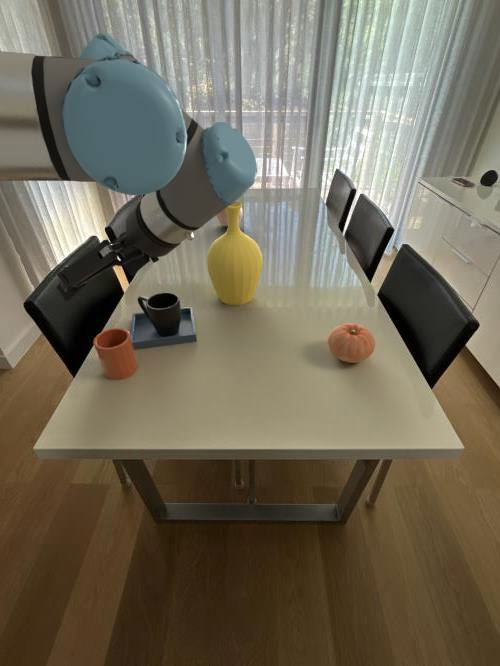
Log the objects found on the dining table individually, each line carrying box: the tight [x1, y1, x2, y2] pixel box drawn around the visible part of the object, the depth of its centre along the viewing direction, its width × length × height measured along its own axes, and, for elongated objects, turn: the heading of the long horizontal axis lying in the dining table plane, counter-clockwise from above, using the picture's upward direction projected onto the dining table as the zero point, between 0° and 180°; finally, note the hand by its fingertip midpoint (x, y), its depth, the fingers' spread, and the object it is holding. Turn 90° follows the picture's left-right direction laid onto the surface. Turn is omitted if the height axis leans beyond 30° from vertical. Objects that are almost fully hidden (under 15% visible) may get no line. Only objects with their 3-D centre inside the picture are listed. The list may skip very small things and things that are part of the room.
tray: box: [130, 306, 198, 351], centre depth 90 cm, size 16×13×2 cm
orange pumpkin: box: [327, 322, 376, 364], centre depth 80 cm, size 11×11×8 cm
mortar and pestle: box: [215, 206, 244, 228], centre depth 151 cm, size 12×12×11 cm
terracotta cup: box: [93, 327, 139, 381], centre depth 77 cm, size 8×8×9 cm
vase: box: [206, 201, 263, 306], centre depth 96 cm, size 16×16×28 cm
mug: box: [137, 292, 182, 337], centre depth 88 cm, size 8×12×10 cm
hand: (98, 280), depth 60 cm, fingers open, 13 cm apart
